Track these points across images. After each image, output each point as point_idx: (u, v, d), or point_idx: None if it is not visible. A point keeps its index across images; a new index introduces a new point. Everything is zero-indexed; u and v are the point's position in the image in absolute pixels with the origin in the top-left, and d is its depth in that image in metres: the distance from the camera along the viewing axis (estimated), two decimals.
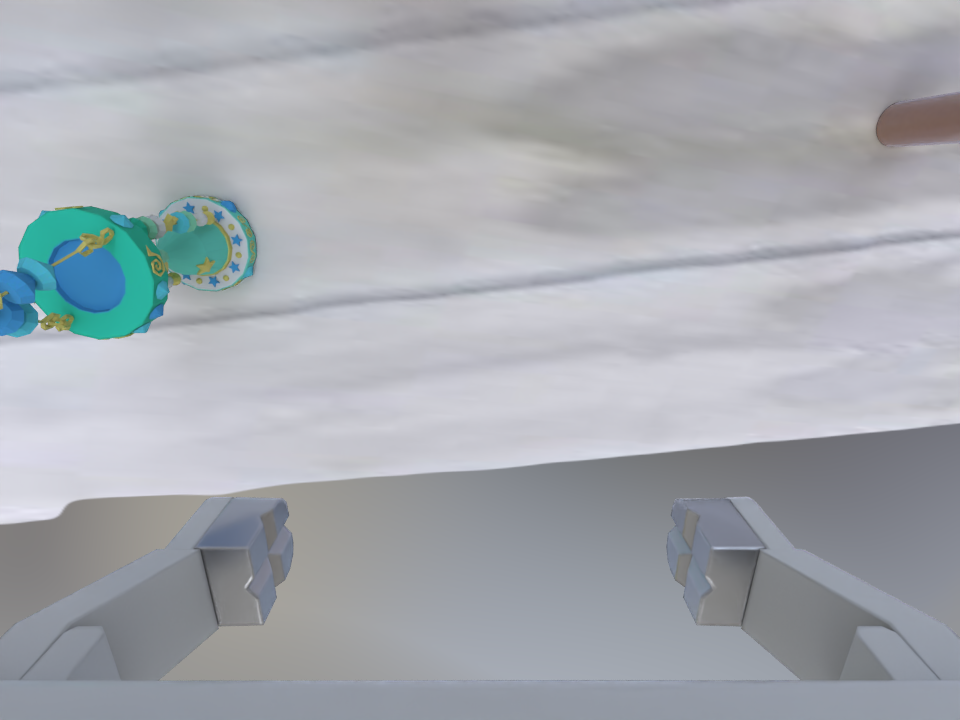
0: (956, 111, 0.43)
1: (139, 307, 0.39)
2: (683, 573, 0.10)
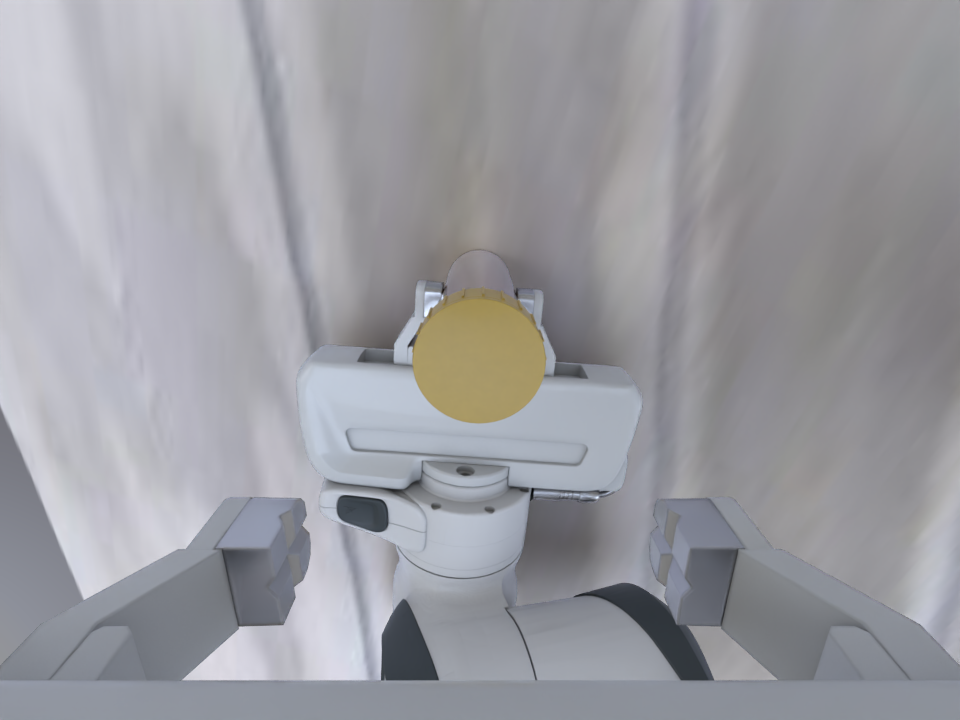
0: (488, 277, 0.25)
1: None
2: (665, 573, 0.10)
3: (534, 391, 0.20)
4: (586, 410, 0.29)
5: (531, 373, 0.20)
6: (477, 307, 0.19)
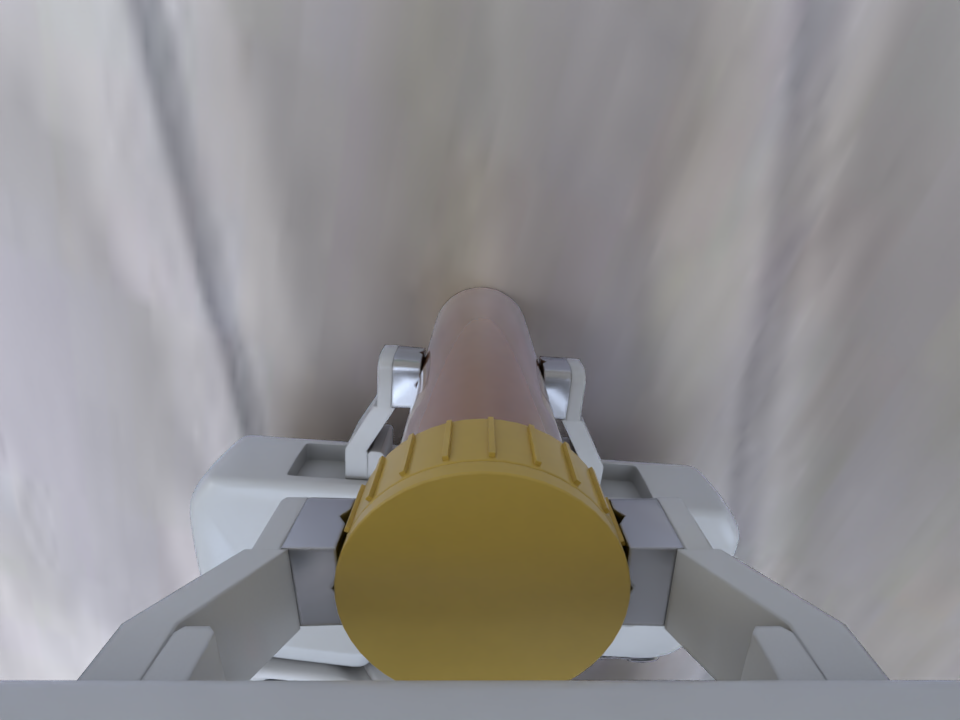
0: (496, 356, 0.14)
1: None
2: None
3: (601, 647, 0.09)
4: None
5: (597, 616, 0.09)
6: (478, 490, 0.08)
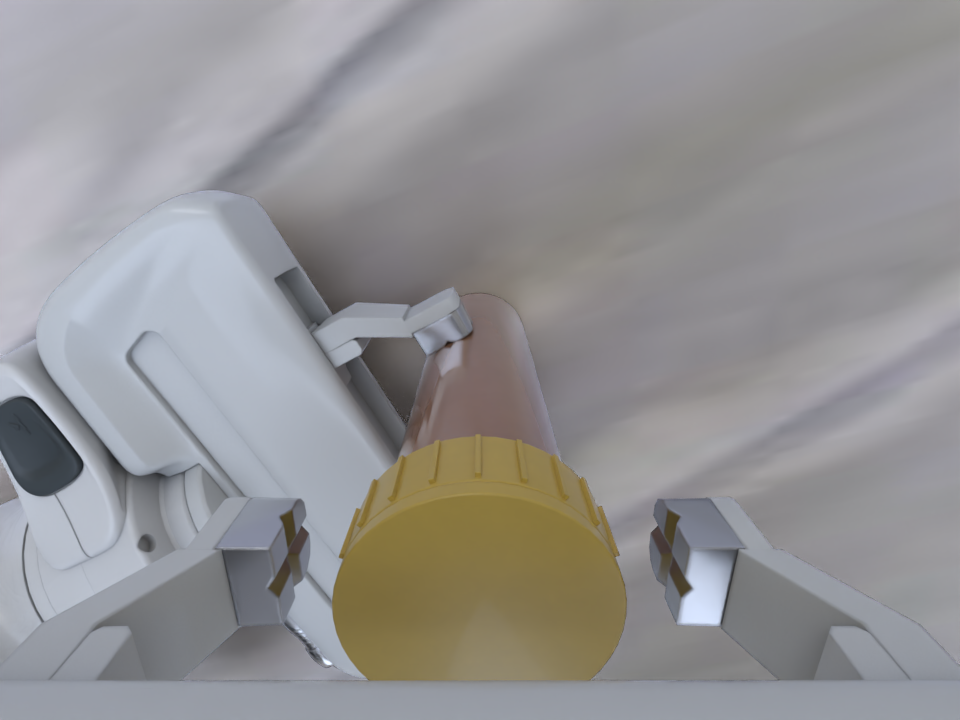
0: (545, 406, 0.15)
1: None
2: (665, 573, 0.10)
3: (620, 597, 0.09)
4: None
5: (588, 574, 0.09)
6: (390, 538, 0.08)
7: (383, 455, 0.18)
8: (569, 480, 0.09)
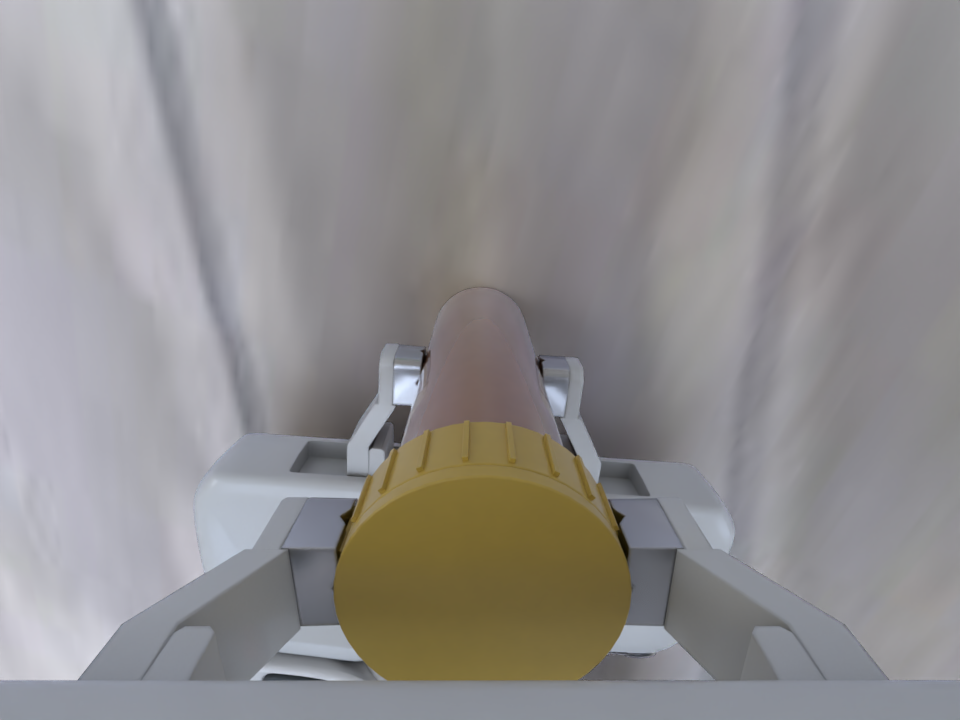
0: (496, 355, 0.15)
1: None
2: None
3: (542, 491, 0.08)
4: None
5: (494, 504, 0.08)
6: (354, 616, 0.09)
7: None
8: (440, 441, 0.09)
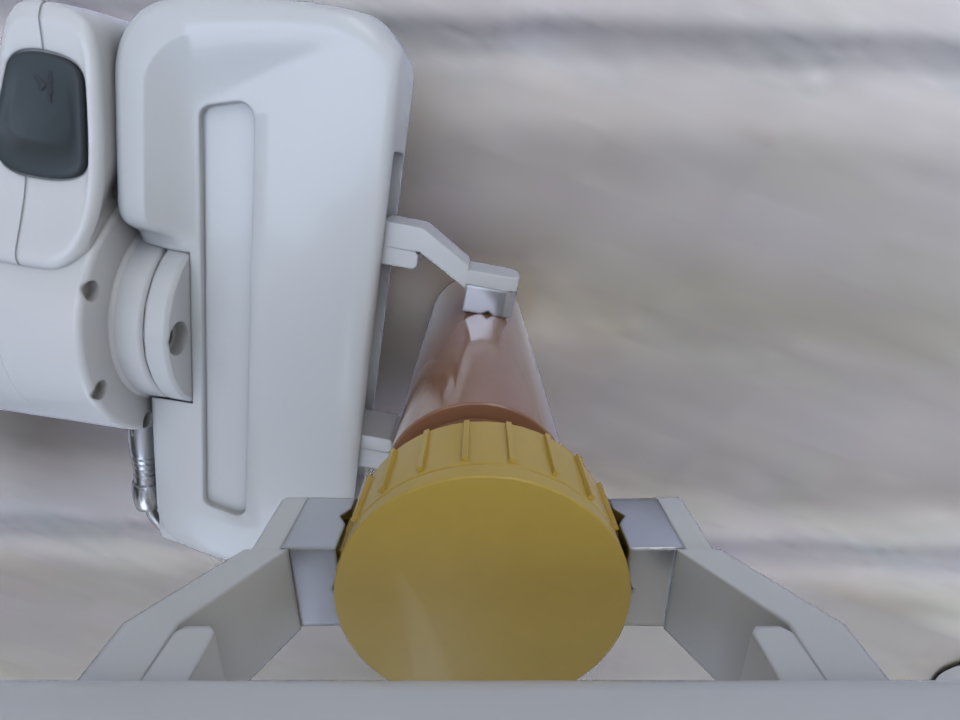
0: None
1: None
2: None
3: (542, 490, 0.08)
4: None
5: (494, 503, 0.08)
6: (354, 616, 0.09)
7: (364, 364, 0.17)
8: (440, 441, 0.09)
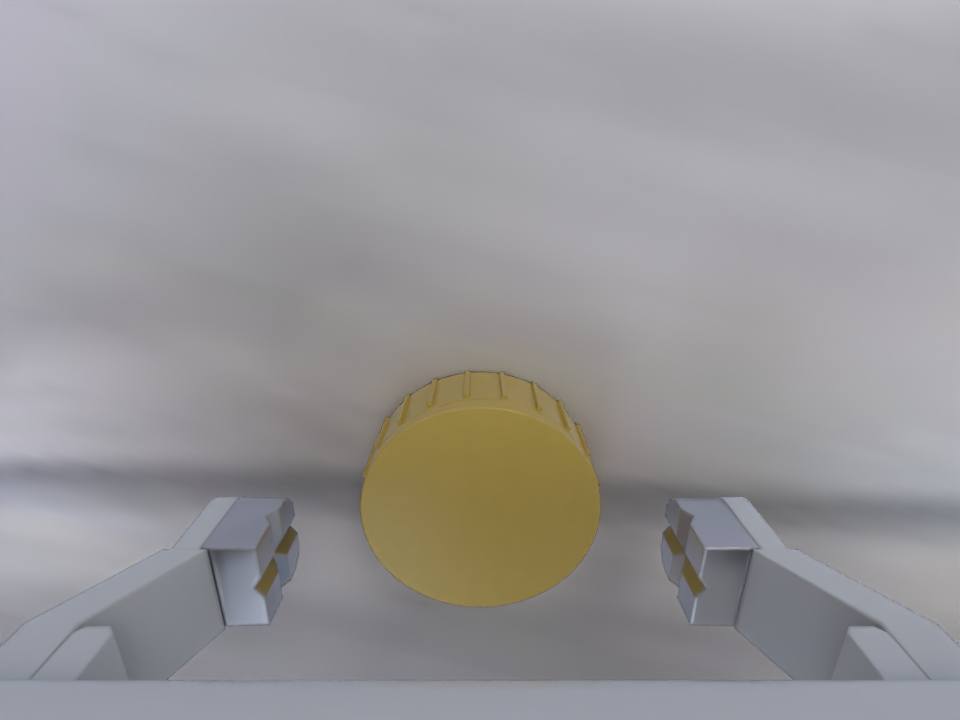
0: None
1: None
2: (677, 573, 0.10)
3: (527, 419, 0.10)
4: None
5: (489, 430, 0.10)
6: (377, 526, 0.11)
7: None
8: (446, 386, 0.11)
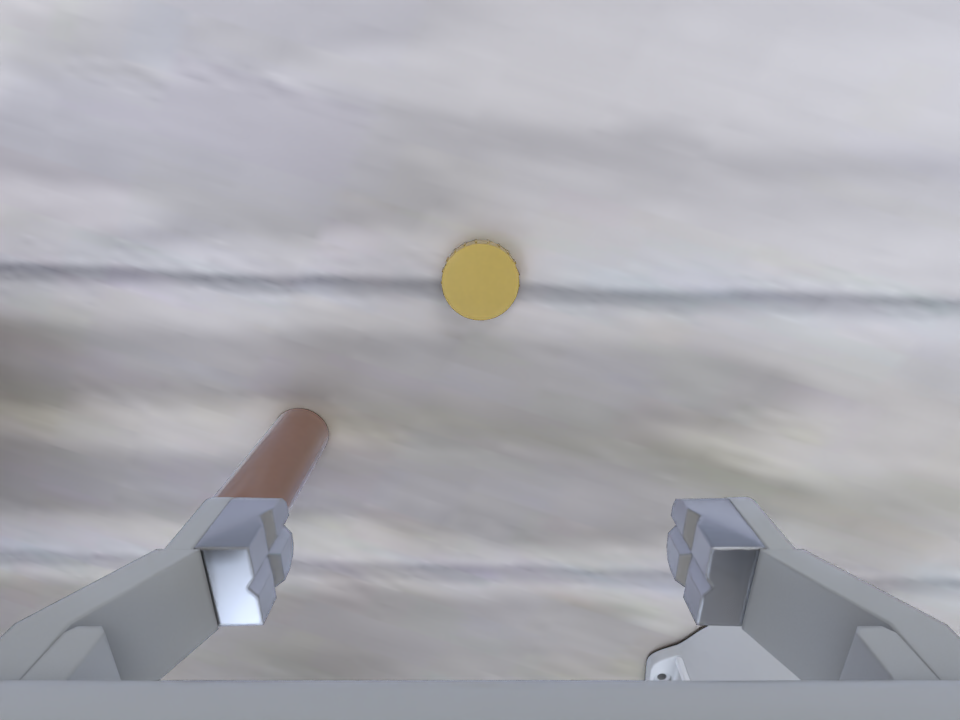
0: (288, 511, 0.32)
1: None
2: (683, 573, 0.10)
3: (494, 248, 0.33)
4: None
5: (483, 251, 0.33)
6: (446, 287, 0.34)
7: None
8: (469, 242, 0.34)
